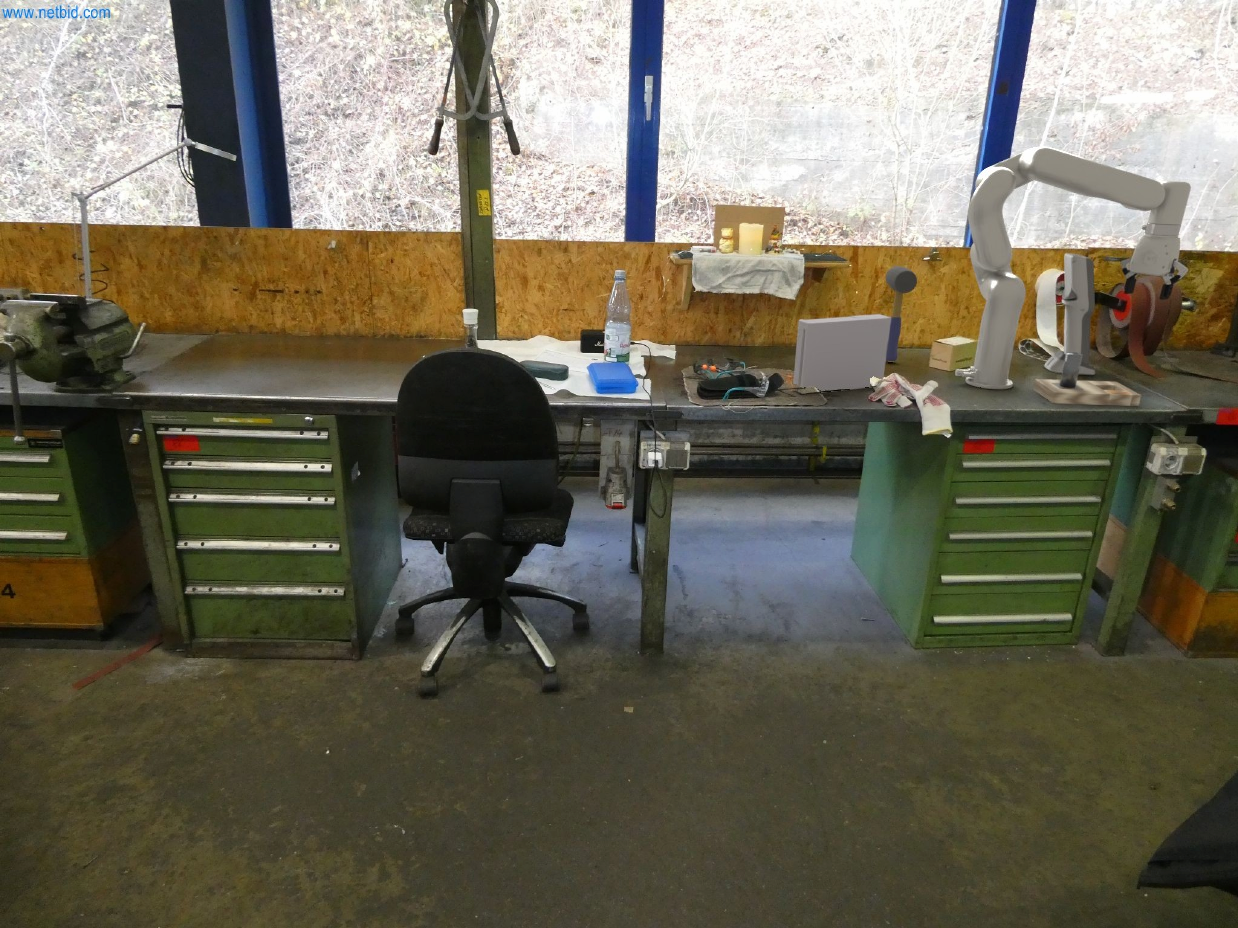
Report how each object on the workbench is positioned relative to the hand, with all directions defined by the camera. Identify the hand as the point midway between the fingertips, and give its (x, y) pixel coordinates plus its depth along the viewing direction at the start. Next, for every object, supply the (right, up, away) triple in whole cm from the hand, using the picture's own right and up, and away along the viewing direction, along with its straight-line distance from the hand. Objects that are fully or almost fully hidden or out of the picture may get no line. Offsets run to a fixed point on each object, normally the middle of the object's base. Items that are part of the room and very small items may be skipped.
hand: (1145, 296), depth 218 cm
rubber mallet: (-56, -13, +41) cm, 70 cm away
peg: (-19, -24, +3) cm, 31 cm away
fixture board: (-14, -27, +4) cm, 31 cm away
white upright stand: (-2, -16, +33) cm, 37 cm away
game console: (-81, -24, +11) cm, 85 cm away
